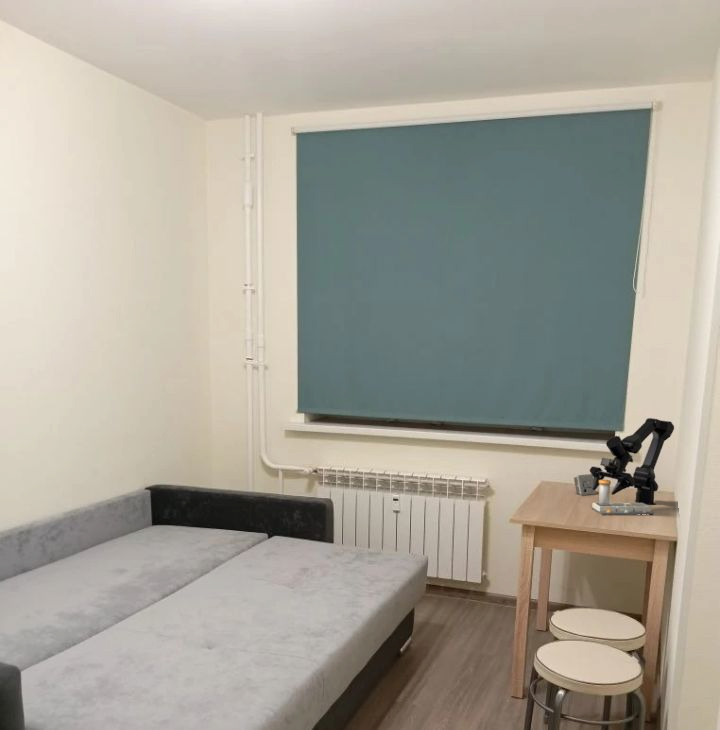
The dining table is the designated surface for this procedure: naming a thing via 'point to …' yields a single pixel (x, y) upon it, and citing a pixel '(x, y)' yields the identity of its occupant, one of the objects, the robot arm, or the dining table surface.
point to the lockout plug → (604, 492)
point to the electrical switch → (584, 484)
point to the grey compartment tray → (622, 509)
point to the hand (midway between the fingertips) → (602, 491)
